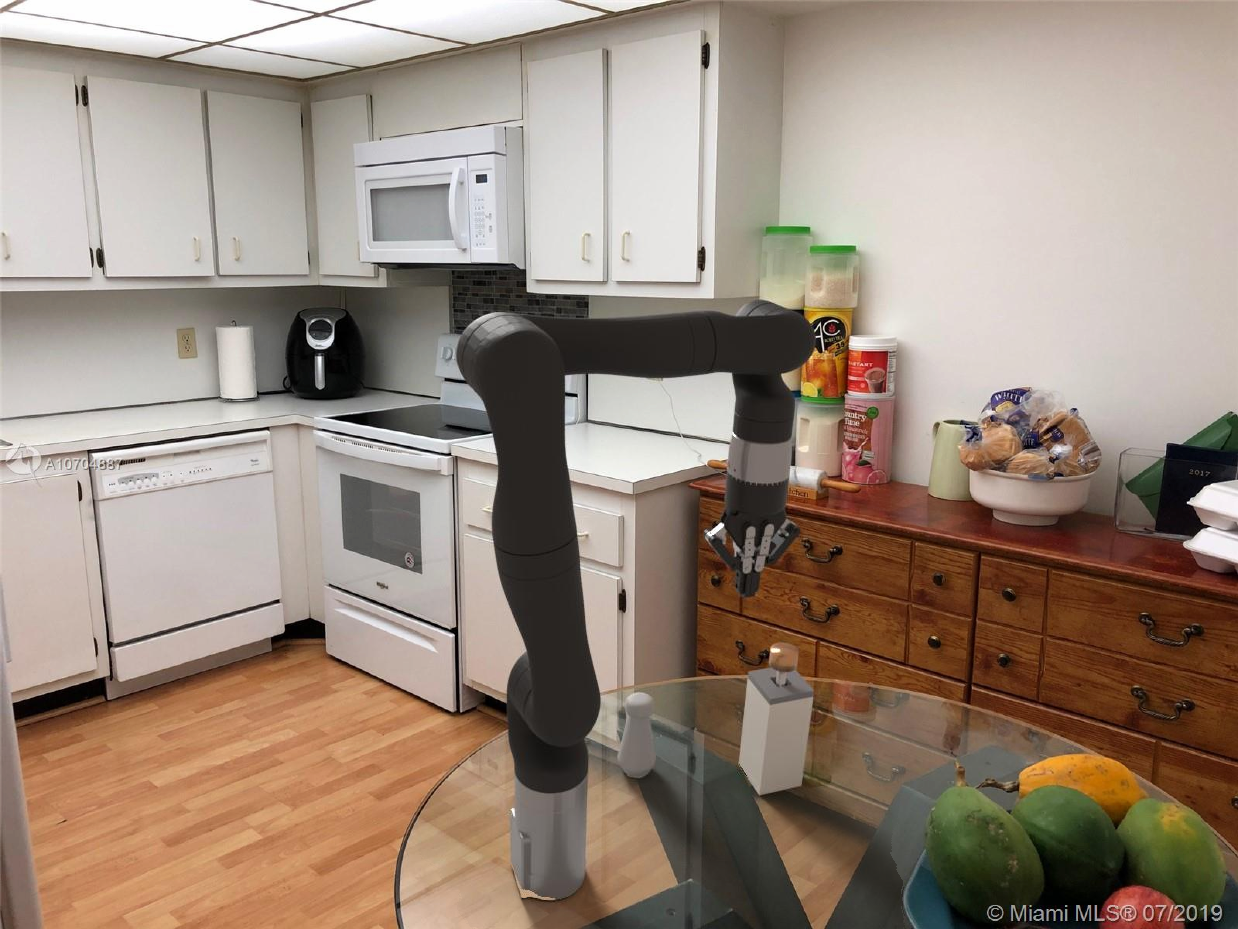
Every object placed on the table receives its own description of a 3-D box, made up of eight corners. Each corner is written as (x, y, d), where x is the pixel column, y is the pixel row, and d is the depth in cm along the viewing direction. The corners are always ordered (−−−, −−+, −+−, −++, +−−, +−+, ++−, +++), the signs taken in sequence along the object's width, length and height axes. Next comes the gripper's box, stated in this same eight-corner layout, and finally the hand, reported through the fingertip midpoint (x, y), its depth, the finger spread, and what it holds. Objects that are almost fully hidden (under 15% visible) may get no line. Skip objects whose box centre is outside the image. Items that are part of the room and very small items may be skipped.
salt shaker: (651, 786, 144) (656, 713, 139) (613, 779, 145) (616, 707, 140) (657, 760, 150) (662, 690, 145) (621, 754, 151) (624, 684, 146)
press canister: (759, 795, 143) (770, 699, 137) (738, 765, 149) (748, 671, 143) (801, 786, 145) (814, 691, 139) (779, 756, 152) (790, 664, 145)
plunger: (766, 761, 143) (778, 660, 136) (752, 742, 147) (763, 644, 140) (792, 755, 144) (805, 656, 138) (778, 737, 148) (790, 639, 142)
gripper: (721, 486, 112) (710, 616, 118) (822, 475, 116) (806, 601, 123) (695, 462, 118) (686, 587, 125) (791, 452, 123) (778, 574, 129)
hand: (745, 594), depth 124 cm, fingers closed
